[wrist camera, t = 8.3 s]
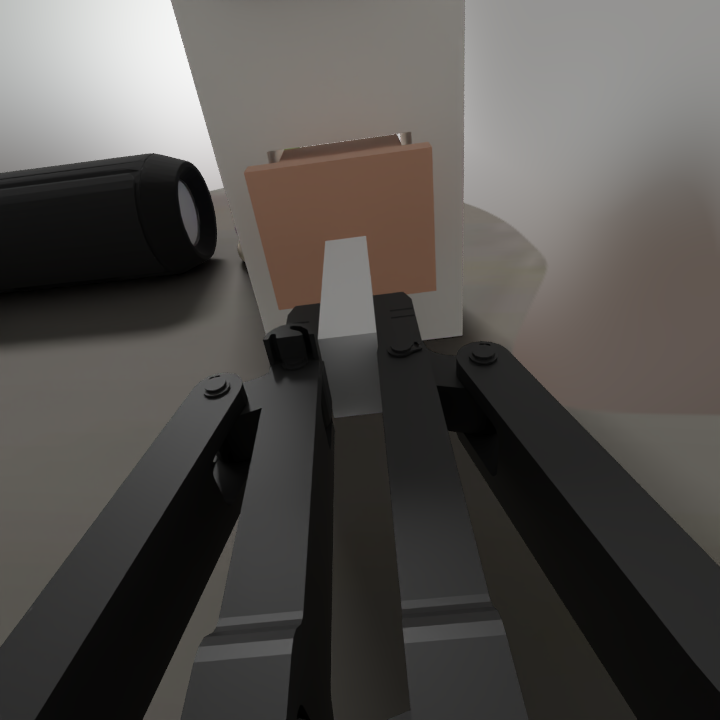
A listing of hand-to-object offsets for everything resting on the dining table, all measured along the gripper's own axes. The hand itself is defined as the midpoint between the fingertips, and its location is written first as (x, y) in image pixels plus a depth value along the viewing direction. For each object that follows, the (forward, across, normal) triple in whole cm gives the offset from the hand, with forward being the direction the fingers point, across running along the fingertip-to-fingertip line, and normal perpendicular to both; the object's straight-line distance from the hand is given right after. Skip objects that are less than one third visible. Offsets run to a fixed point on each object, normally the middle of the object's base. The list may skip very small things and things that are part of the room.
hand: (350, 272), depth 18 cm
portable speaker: (+25, -26, -9) cm, 37 cm away
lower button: (+7, 0, -3) cm, 8 cm away
